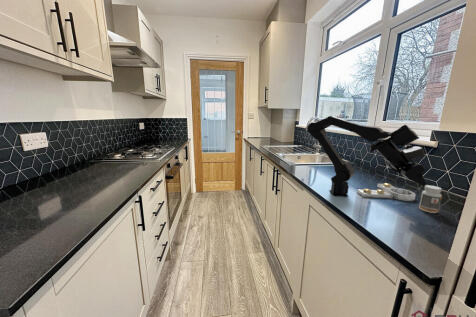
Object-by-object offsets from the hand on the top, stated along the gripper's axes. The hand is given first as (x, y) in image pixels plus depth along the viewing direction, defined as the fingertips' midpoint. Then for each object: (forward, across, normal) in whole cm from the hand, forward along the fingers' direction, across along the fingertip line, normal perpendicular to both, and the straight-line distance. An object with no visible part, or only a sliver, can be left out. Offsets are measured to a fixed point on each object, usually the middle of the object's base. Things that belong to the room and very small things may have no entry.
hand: (418, 181), depth 77 cm
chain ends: (+4, +16, +13) cm, 20 cm away
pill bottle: (+12, 0, +5) cm, 13 cm away
